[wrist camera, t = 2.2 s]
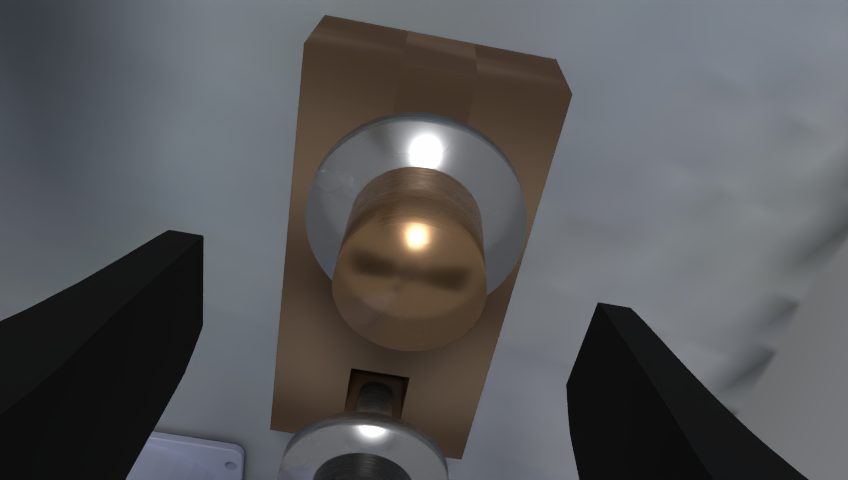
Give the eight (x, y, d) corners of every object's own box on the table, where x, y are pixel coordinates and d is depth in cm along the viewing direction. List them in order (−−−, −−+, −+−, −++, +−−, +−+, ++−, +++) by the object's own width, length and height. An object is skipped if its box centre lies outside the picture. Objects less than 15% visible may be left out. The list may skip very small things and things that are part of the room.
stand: (460, 396, 27) (461, 459, 25) (289, 369, 27) (270, 429, 24) (556, 59, 20) (572, 94, 17) (324, 15, 20) (304, 43, 17)
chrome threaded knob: (434, 455, 25) (428, 633, 19) (297, 433, 24) (252, 608, 19) (462, 351, 22) (465, 521, 16) (310, 325, 22) (261, 491, 16)
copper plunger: (490, 248, 20) (504, 403, 14) (323, 219, 20) (272, 366, 14) (534, 86, 17) (572, 201, 12) (342, 50, 17) (290, 150, 12)
